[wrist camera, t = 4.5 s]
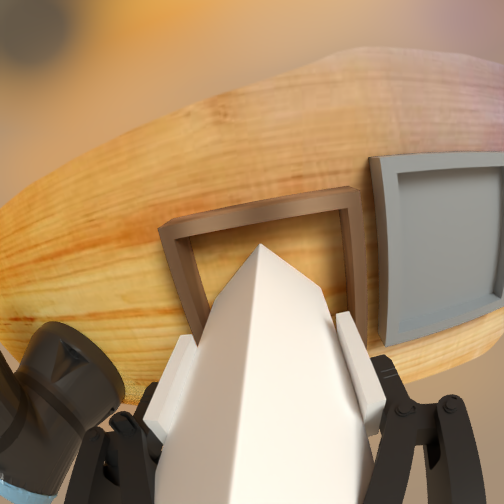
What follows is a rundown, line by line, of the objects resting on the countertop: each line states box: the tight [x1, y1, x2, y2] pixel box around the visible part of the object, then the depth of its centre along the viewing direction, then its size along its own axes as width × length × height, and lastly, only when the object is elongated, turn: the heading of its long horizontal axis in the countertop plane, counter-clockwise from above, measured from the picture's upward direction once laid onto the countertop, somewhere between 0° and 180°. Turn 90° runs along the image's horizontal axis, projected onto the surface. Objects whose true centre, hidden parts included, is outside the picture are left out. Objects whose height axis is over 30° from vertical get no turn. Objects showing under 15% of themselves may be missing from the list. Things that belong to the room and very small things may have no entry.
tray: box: [368, 151, 504, 347], centre depth 19 cm, size 16×16×2 cm
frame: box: [158, 186, 368, 351], centre depth 21 cm, size 14×14×3 cm
